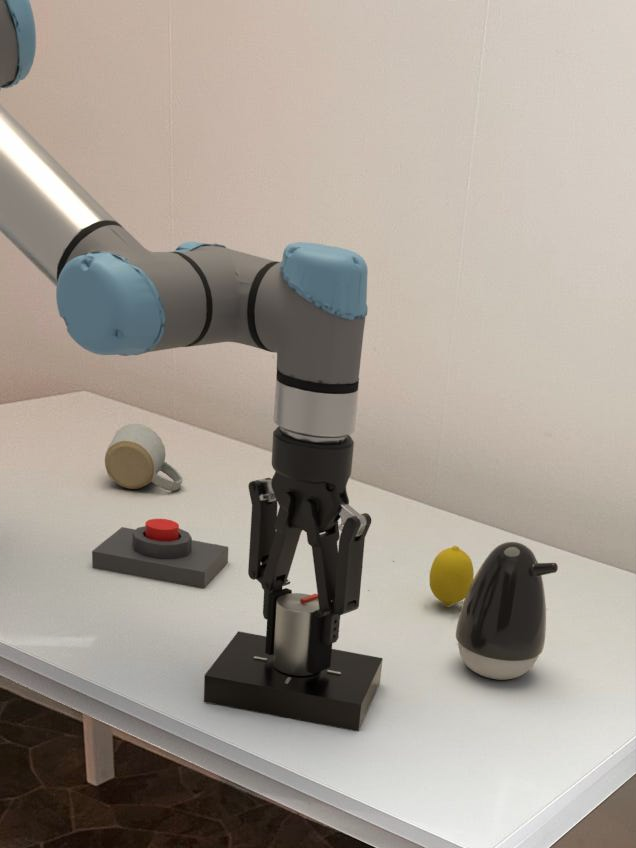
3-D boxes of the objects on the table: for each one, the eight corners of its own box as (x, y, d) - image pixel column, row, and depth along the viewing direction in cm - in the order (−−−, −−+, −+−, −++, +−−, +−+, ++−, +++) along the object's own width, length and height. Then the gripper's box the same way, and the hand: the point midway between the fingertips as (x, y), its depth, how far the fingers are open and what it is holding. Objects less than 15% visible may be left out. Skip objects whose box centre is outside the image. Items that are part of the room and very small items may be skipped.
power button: (140, 539, 145) (140, 525, 144) (151, 530, 148) (151, 516, 147) (172, 545, 145) (172, 531, 144) (183, 535, 148) (183, 522, 147)
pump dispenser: (514, 699, 131) (538, 567, 123) (434, 669, 135) (453, 539, 127) (554, 672, 139) (579, 547, 131) (477, 644, 143) (497, 520, 134)
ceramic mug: (102, 488, 169) (102, 433, 165) (113, 471, 176) (113, 418, 172) (177, 498, 171) (179, 445, 167) (185, 482, 178) (187, 430, 174)
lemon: (452, 596, 155) (460, 537, 150) (477, 612, 151) (486, 552, 147) (417, 600, 152) (425, 540, 147) (441, 617, 148) (450, 555, 144)
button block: (92, 568, 144) (91, 536, 142) (122, 543, 153) (121, 513, 151) (204, 589, 144) (205, 557, 142) (228, 563, 153) (229, 532, 150)
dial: (300, 680, 120) (305, 613, 116) (262, 664, 122) (266, 597, 118) (331, 667, 124) (336, 601, 120) (294, 651, 126) (299, 586, 122)
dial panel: (203, 702, 120) (204, 673, 118) (237, 656, 130) (238, 629, 128) (358, 731, 119) (361, 703, 118) (379, 683, 130) (383, 656, 128)
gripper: (415, 452, 109) (388, 680, 122) (268, 402, 116) (256, 623, 129) (366, 463, 104) (343, 701, 116) (214, 410, 111) (207, 640, 123)
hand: (297, 659), depth 123 cm, fingers closed on dial, 5 cm apart
